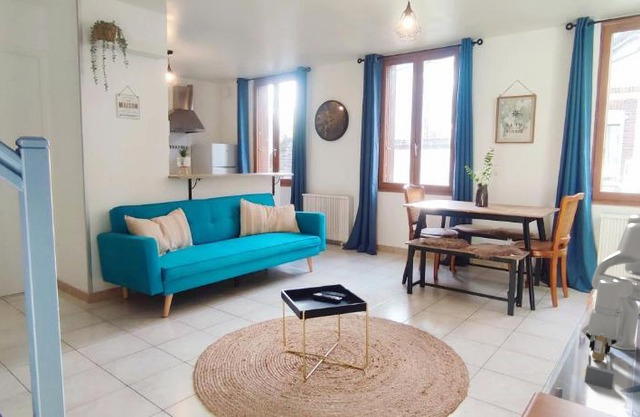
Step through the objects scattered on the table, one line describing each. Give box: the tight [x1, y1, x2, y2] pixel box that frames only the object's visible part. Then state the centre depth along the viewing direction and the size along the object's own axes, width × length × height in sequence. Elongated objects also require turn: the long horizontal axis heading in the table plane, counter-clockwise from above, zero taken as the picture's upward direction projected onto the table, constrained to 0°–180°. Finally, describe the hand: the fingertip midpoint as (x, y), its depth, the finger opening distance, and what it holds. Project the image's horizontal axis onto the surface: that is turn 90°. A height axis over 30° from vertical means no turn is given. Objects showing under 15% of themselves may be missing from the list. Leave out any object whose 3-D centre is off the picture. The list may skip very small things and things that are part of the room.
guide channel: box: [584, 350, 615, 390], centre depth 170 cm, size 27×8×6 cm, turn 148°
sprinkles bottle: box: [591, 333, 607, 362], centre depth 177 cm, size 5×5×14 cm
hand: (598, 351), depth 177 cm, fingers closed on sprinkles bottle, 4 cm apart
